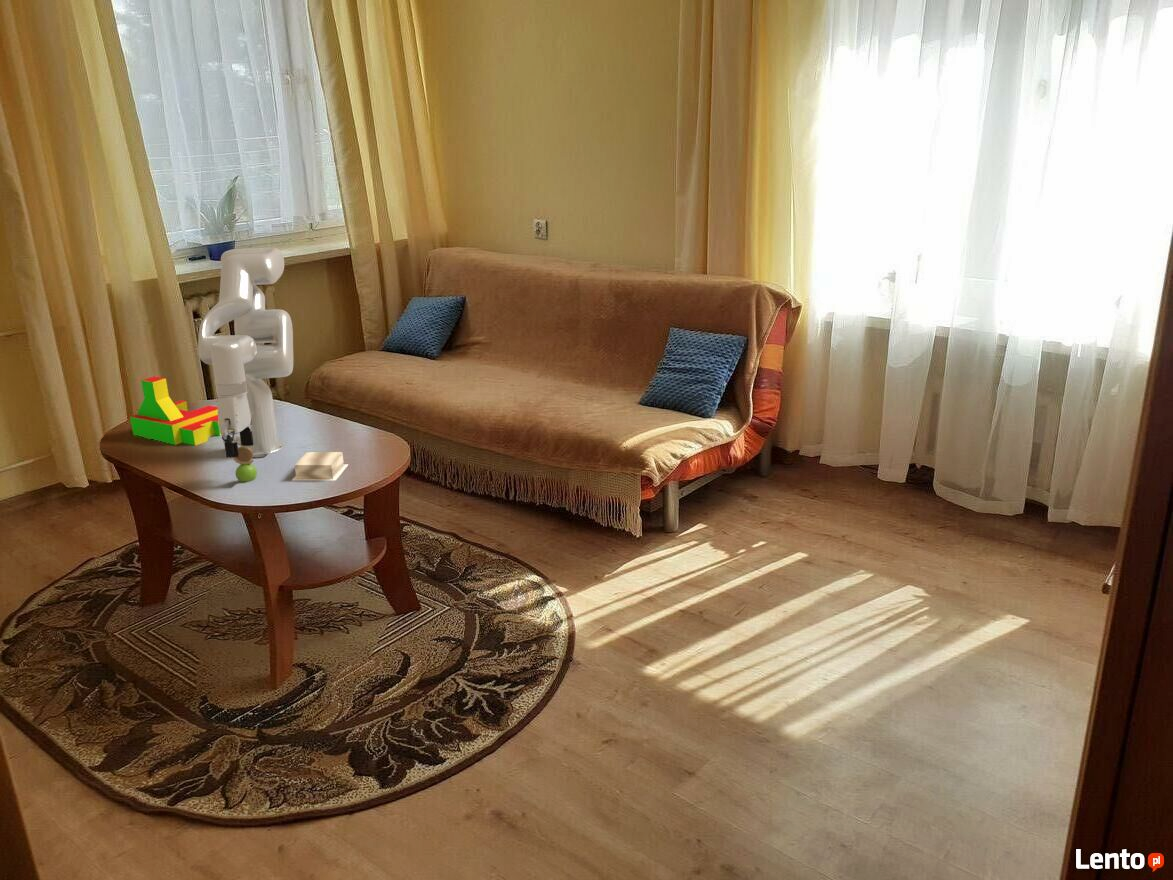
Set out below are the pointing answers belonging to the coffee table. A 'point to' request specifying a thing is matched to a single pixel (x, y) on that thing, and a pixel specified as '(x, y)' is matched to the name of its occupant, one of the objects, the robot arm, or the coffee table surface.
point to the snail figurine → (245, 465)
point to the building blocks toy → (172, 417)
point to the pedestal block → (319, 465)
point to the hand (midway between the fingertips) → (240, 451)
